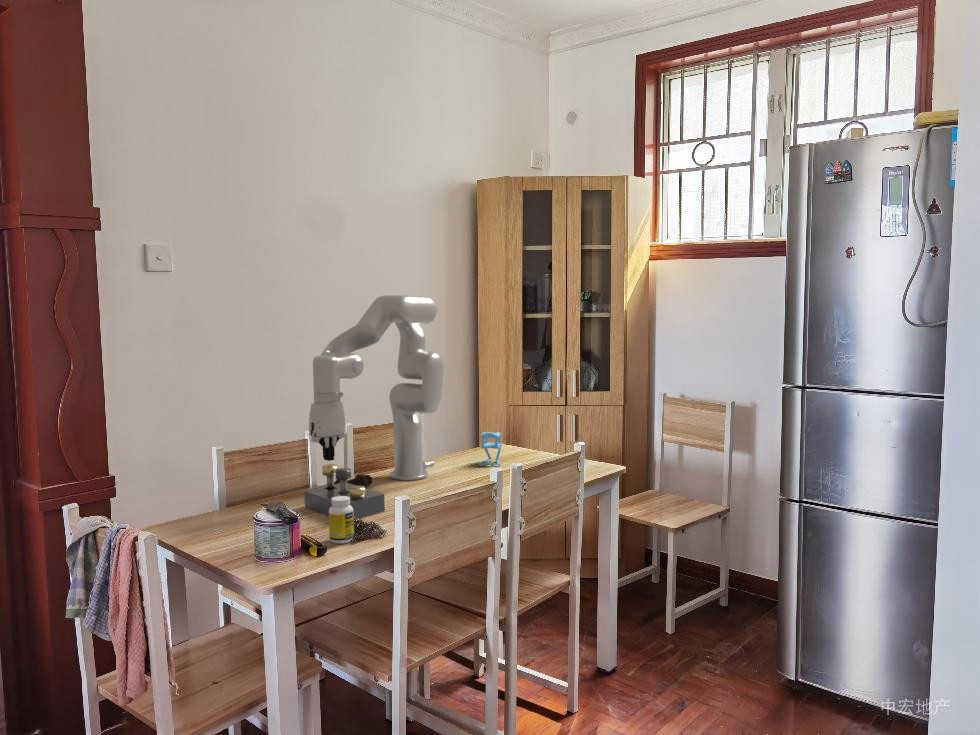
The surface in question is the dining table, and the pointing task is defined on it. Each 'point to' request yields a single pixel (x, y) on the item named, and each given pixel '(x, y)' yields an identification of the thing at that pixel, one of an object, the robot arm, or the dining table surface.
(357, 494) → the knob
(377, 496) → the mount
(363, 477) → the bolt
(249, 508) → the dining table surface
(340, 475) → the knob middle
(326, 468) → the knob
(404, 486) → the dining table surface
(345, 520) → the pill bottle
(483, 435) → the chair
